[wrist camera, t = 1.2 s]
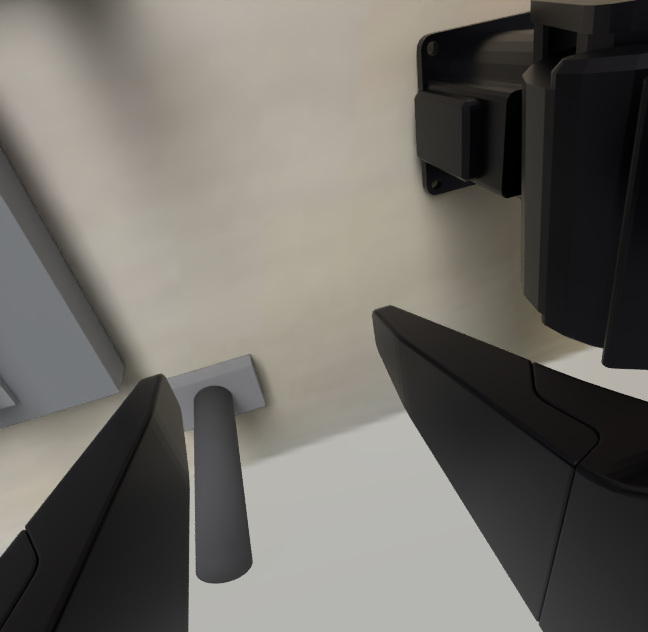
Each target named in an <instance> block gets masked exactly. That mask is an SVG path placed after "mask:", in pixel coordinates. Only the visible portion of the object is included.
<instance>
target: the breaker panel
mask: <svg viewBox="0 0 648 632" xmlns="http://www.w3.org/2000/svg"><path fill="white" fill-rule="evenodd" d="M124 369H125V366H124V364H123V362H122V360H121V359H120V357H119V355H118V353H117V352H116V350H115V348H114V346H113V344H112V343H111V341H110V339H109V337H108V336H107V334H106V332H105V330H104V329H103V327H102V325H101V323H100V321H99V320H98V318H97V316H96V314H95V313H94V311H93V309H92V307H91V306H90V304H89V302H88V300H87V299H86V297H85V295H84V293H83V291H82V290H81V288H80V286H79V284H78V283H77V281H76V279H75V277H74V276H73V274H72V272H71V270H70V269H69V267H68V265H67V263H66V261H65V260H64V258H63V256H62V254H61V253H60V251H59V249H58V247H57V246H56V244H55V242H54V240H53V239H52V237H51V235H50V233H49V231H48V230H47V228H46V226H45V224H44V223H43V221H42V219H41V217H40V216H39V214H38V212H37V210H36V208H35V207H34V205H33V203H32V201H31V200H30V198H29V196H28V194H27V193H26V191H25V189H24V187H23V186H22V184H21V182H20V180H19V178H18V177H17V175H16V173H15V171H14V170H13V168H12V166H11V164H10V163H9V161H8V159H7V157H6V156H5V154H4V152H3V150H2V148H1V147H0V428H4V427H7V426H10V425H14V424H17V423H20V422H24V421H27V420H30V419H34V418H37V417H40V416H44V415H47V414H50V413H54V412H57V411H60V410H64V409H67V408H70V407H74V406H77V405H80V404H84V403H87V402H90V401H94V400H97V399H100V398H104V397H107V396H110V395H114V394H117V393H120V389H121V384H122V379H123V374H124Z"/></svg>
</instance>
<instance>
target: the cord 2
mask: <svg viewBox="0 0 648 632" xmlns="http://www.w3.org/2000/svg"><path fill="white" fill-rule="evenodd" d="M167 380H168V382H169V384H170V386H171V388H172V390H173V392H174V394H175V396H176V398H177V400H178V402H179V405H180V408H181V412H182V419H183V428H184V431H188V430H191V429H194V466H195V537H196V538H195V542H196V575H197V577H198V578H199V579H200V580H202V581H204V582H207V583H225V582H229V581H232V580H235V579H237V578H239V577H241V576H242V575H244V574H245V573H246V572H247V571H248V570H249V569H250V568H251V566H252V553H251V545H250V537H249V528H248V520H247V512H246V504H245V496H244V487H243V479H242V471H241V463H240V455H239V447H238V438H237V430H236V422H235V415H238V414H241V413H245V412H248V411H251V410H254V409H257V408H260V407H264V406H266V403H265V399H264V394H263V391H262V388H261V385H260V382H259V380H258V377H257V374H256V371H255V368H254V365H253V362H252V359H251V357H250V354H248V355H244V356H241V357H238V358H234V359H231V360H228V361H224V362H221V363H218V364H214V365H211V366H208V367H204V368H201V369H198V370H194V371H191V372H188V373H184V374H181V375H178V376H174V377H171V378H168V379H167Z"/></svg>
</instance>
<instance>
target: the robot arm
mask: <svg viewBox="0 0 648 632" xmlns="http://www.w3.org/2000/svg"><path fill="white" fill-rule="evenodd" d="M430 42H432V43H433V45H434V51H433V52H432V54H431V55H429V54H428V53H427V46H428V44H429V43H430ZM417 67H418V88H419V91H418V93H417V95H416V96H415V119H416V139H417V155H418V157H419V158H420V159H422V175H423V187H424V189H425V190H426V191H427V192H428V193H430V194H432V195H438V194H441V193H445V192H449V191H452V190H456V189H460V188H464V187H467V186H471V185H475V184H478V185H480V186H482V187H484V188H486V189H488V190H490V191H492V192H494V193H496V194H498V195H500V196H502V197H504V198H510V197H514V196H516V197H518V198H520V199H521V281H522V287H523V292H524V295H525V296H526V298H527V299H528V300H529V301H530V302H531V304H532V305H533V306H534V307H535V308H536V310H537V311H538V312H540V313H541V314H542V317H541V319H542V322H543V324H544V325H546V326H548V327H549V328H551V329H553V330H555V331H557V332H558V333H560V334H562V335H564V336H566V337H568V338H571V339H574V340H577V341H579V342H582V343H585V344H588V345H591V346H594V347H599V348H603V355H602V364H603V365H604V366H605V367H608V368H615V369H616V368H617V369H640V370H648V0H531V11H529V12H525V13H520V14H516V15H511V16H507V17H502V18H498V19H493V20H489V21H484V22H480V23H475V24H471V25H466V26H462V27H457V28H453V29H448V30H444V31H439V32H435V33H430V34H427V35H425V36H423V37H422V38H421V39H420V41H419V43H418V45H417ZM435 179H437V180H438V182H437V185H436V186H435V187H432V182H433V181H434V180H435ZM372 319H373V326H374V334H375V341H376V345H377V349H378V351H379V354H380V356H381V358H382V360H383V362H384V365H385V367H386V369H387V371H388V373H389V375H390V378H391V380H392V382H393V384H394V386H395V389H396V391H397V393H398V395H399V397H400V399H401V401H402V403H403V406H404V408H405V409H406V411H407V413H408V414H409V416H410V418H411V420H412V421H413V423H414V425H415V426H416V428H417V429H418V431H419V433H420V434H421V436H422V437H423V439H424V441H425V442H426V444H427V445H428V447H429V449H430V450H431V452H432V453H433V455H434V457H435V458H436V460H437V462H438V463H439V465H440V466H441V468H442V470H443V471H444V473H445V474H446V476H447V477H448V479H449V481H450V482H451V484H452V486H453V487H454V489H455V490H456V492H457V494H458V495H459V497H460V499H461V500H462V502H463V503H464V505H465V506H466V508H467V510H468V511H469V513H470V515H471V516H472V518H473V519H474V521H475V523H476V524H477V526H478V527H479V529H480V531H481V532H482V534H483V535H484V537H485V539H486V540H487V542H488V543H489V545H490V547H491V548H492V550H493V551H494V553H495V555H496V556H497V558H498V559H499V561H500V563H501V564H502V566H503V568H504V569H505V571H506V573H507V574H508V576H509V577H510V579H511V581H512V582H513V584H514V585H515V587H516V589H517V590H518V592H519V593H520V595H521V597H522V598H523V600H524V601H525V603H526V605H527V606H528V608H529V609H530V611H531V613H532V614H533V616H534V618H535V619H536V620H537V621H538V622H539V626H540V627H541V629H542V631H543V632H648V402H647V401H644V400H641V399H638V398H634V397H631V396H628V395H624V394H621V393H618V392H615V391H612V390H609V389H606V388H603V387H600V386H597V385H594V384H591V383H588V382H585V381H582V380H580V379H577V378H574V377H571V376H569V375H566V374H564V373H561V372H558V371H556V370H553V369H551V368H548V367H546V366H543V365H541V364H538V363H535V362H534V363H532V362H531V361H530V360H528V359H525V358H523V357H520V356H518V355H515V354H513V353H510V352H508V351H505V350H503V349H500V348H498V347H495V346H493V345H490V344H488V343H485V342H483V341H480V340H477V339H475V338H472V337H470V336H467V335H465V334H462V333H460V332H457V331H455V330H452V329H450V328H447V327H445V326H442V325H440V324H437V323H435V322H432V321H430V320H427V319H425V318H422V317H420V316H417V315H415V314H412V313H410V312H407V311H405V310H402V309H400V308H397V307H395V306H392V305H389V306H385V307H382V308H379V309H375V310H374V311H373V313H372ZM189 494H190V485H189V470H188V462H187V453H186V445H185V436H184V428H183V419H182V412H181V408H180V405H179V402H178V400H177V398H176V396H175V394H174V392H173V390H172V388H171V386H170V384H169V382H168V380H167V378H166V377H165V376H164V375H163V374H157V375H154V376H151V377H147V378H144V379H142V380H141V381H140V382H139V383H138V384H137V386H136V387H135V388H134V389H133V391H132V392H131V393H130V394H129V396H128V397H127V398H126V399H125V401H124V402H123V403H122V404H121V406H120V407H119V408H118V410H117V411H116V412H115V413H114V415H113V416H112V417H111V418H110V420H109V421H108V422H107V423H106V425H105V426H104V427H103V428H102V430H101V431H100V432H99V434H98V435H97V436H96V437H95V439H94V440H93V441H92V442H91V444H90V445H89V446H88V447H87V449H86V450H85V451H84V452H83V454H82V455H81V456H80V458H79V459H78V460H77V461H76V463H75V464H74V465H73V466H72V468H71V469H70V470H69V471H68V473H67V474H66V475H65V476H64V478H63V479H62V480H61V481H60V483H59V484H58V485H57V487H56V488H55V489H54V490H53V492H52V493H51V494H50V495H49V497H48V498H47V499H46V500H45V502H44V503H43V504H42V505H41V507H40V508H39V509H38V511H37V512H36V513H35V514H34V516H33V517H32V518H31V519H30V521H29V522H28V523H27V524H26V526H25V529H26V530H22V531H21V532H20V533H19V534H18V536H17V537H16V538H15V539H14V541H13V542H12V543H11V544H10V546H9V547H8V548H7V549H6V551H5V552H4V553H3V554H2V556H1V557H0V632H188V605H189V604H188V603H189V602H188V601H189V505H190V503H189V502H190V495H189Z"/></svg>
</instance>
